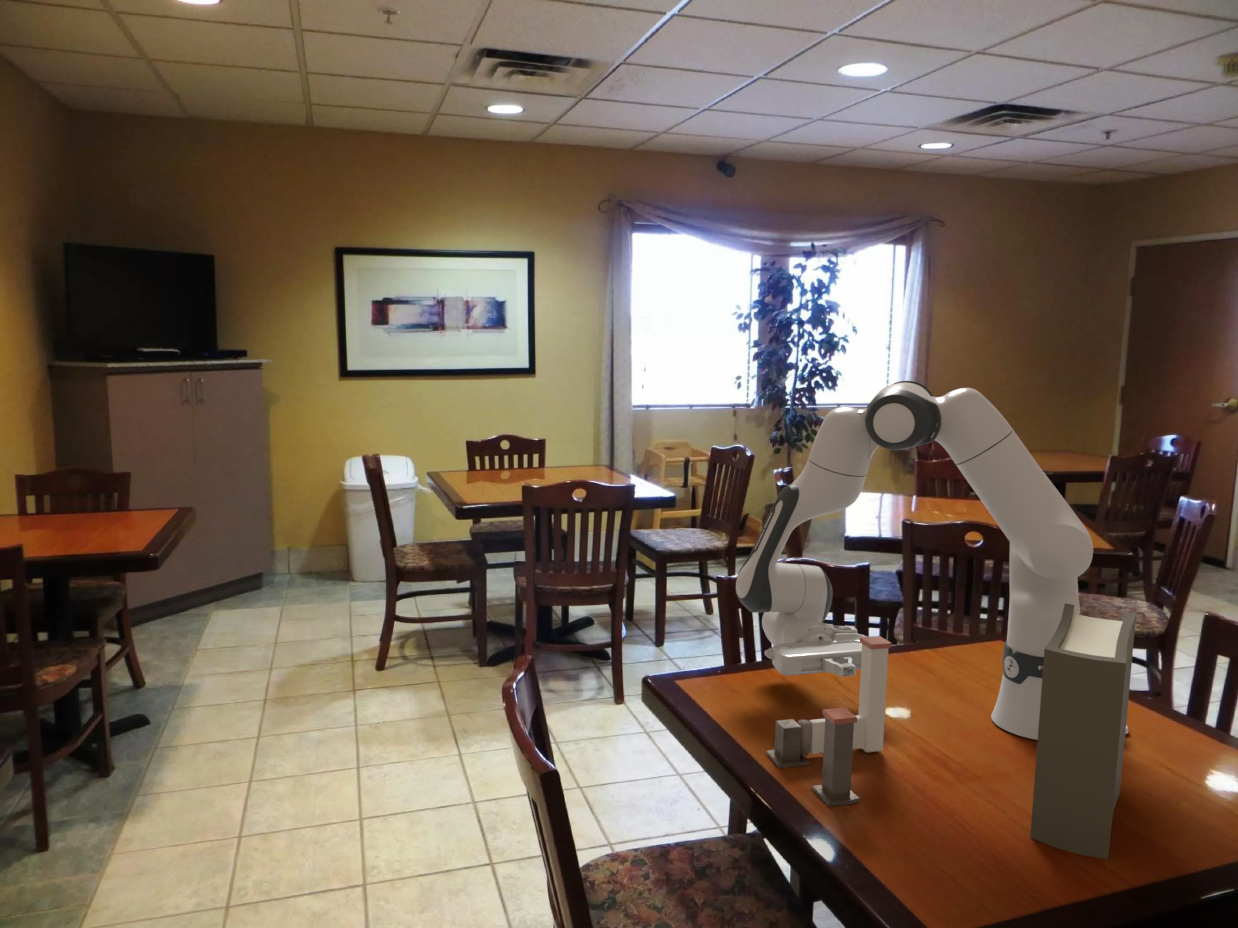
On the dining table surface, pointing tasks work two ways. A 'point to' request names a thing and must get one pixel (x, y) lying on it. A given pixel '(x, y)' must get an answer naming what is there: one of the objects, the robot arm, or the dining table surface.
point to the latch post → (837, 758)
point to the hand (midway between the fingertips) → (848, 671)
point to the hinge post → (787, 745)
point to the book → (1082, 732)
